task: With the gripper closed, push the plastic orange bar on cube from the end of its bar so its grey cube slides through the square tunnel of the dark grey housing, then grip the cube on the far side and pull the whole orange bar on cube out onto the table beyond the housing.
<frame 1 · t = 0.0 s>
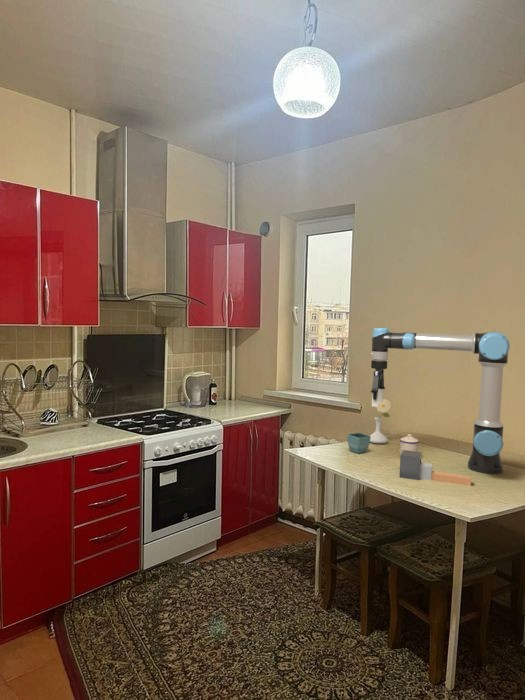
hand: (377, 404, 242), 28 cm above the table, tool pointing down, fingers open, 13 cm apart
orange bar on cube: (424, 477, 221), on the table
flower in vase: (378, 443, 281), on the table
housing: (410, 475, 223), on the table
teacup with lid: (407, 457, 255), on the table
flower pot: (358, 452, 260), on the table
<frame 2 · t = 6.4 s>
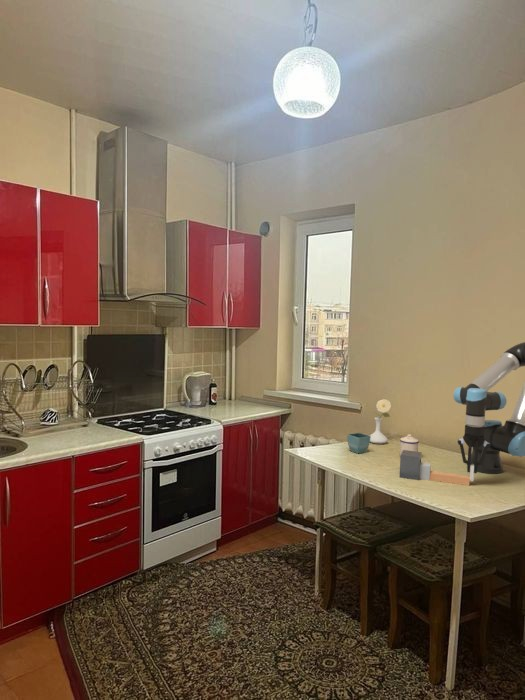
hand: (471, 480, 213), 2 cm above the table, tool pointing down, fingers closed
orange bar on cube: (422, 477, 221), on the table, touching gripper
everything else where it was.
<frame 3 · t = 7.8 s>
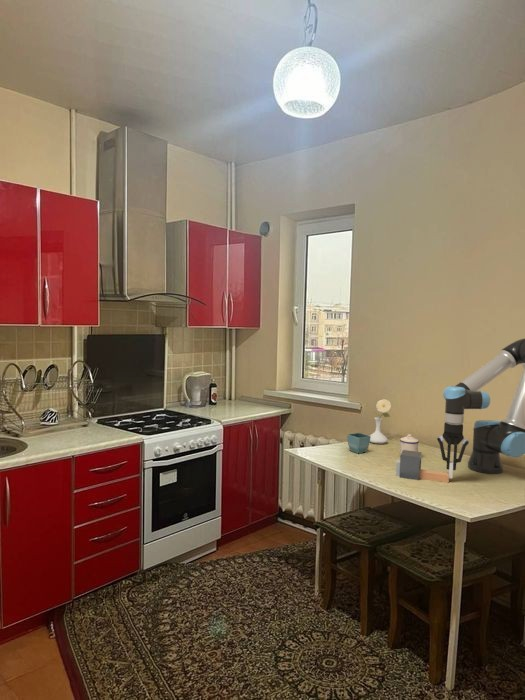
hand: (450, 477, 217), 2 cm above the table, tool pointing down, fingers closed
orange bar on cube: (403, 474, 224), on the table, touching gripper
everything else where it was.
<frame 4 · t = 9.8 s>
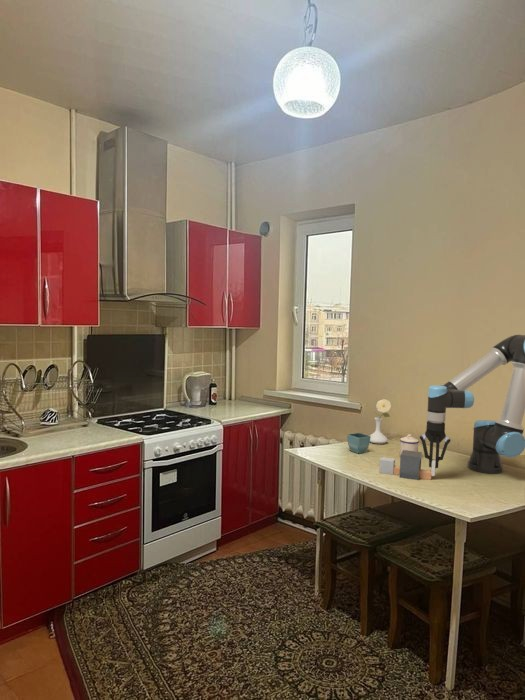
hand: (433, 474, 219), 2 cm above the table, tool pointing down, fingers closed
orange bar on cube: (386, 472, 227), on the table, touching gripper
everything else where it was.
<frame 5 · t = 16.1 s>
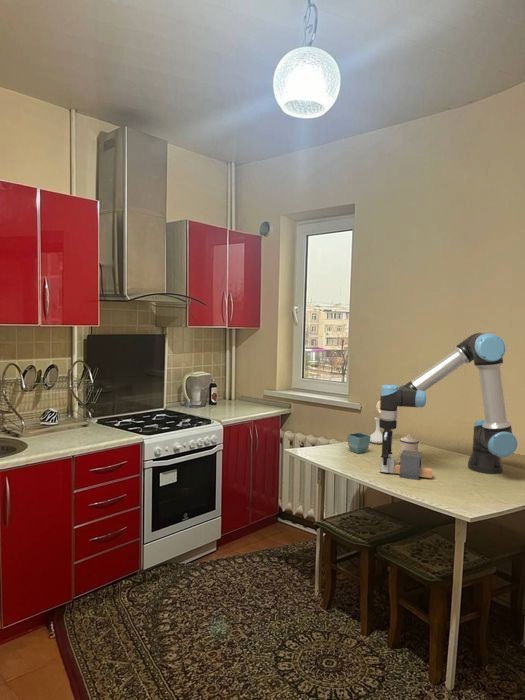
hand: (385, 470, 227), 1 cm above the table, tool pointing down, fingers closed on orange bar on cube, 5 cm apart
orange bar on cube: (387, 470, 227), point 1 cm above the table, touching gripper
everything else where it was.
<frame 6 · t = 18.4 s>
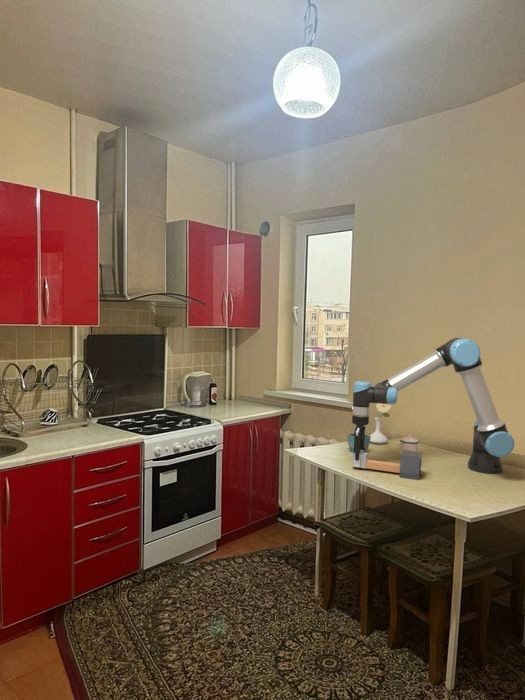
hand: (358, 465, 232), 1 cm above the table, tool pointing down, fingers closed on orange bar on cube, 5 cm apart
orange bar on cube: (359, 466, 232), point 1 cm above the table, touching gripper
everything else where it was.
when the fingers open (0 cm above the table, at t = 20.5 s): orange bar on cube stays where it is, on the table.
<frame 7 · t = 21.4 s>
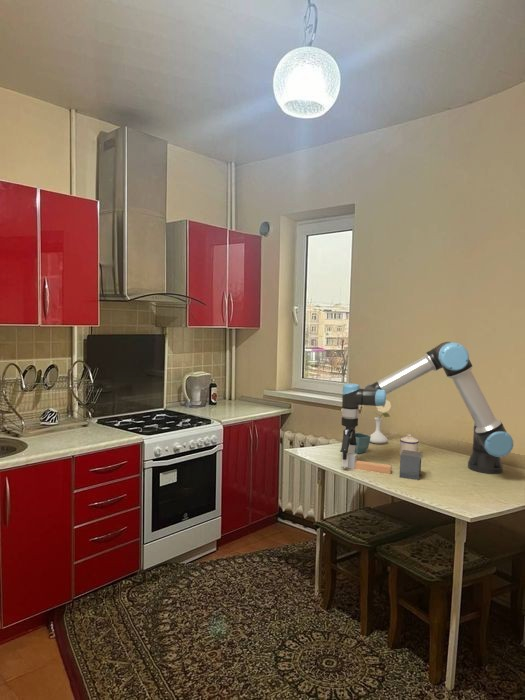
hand: (348, 462, 234), 2 cm above the table, tool pointing down, fingers open, 13 cm apart
orange bar on cube: (349, 467, 234), on the table
everything else where it was.
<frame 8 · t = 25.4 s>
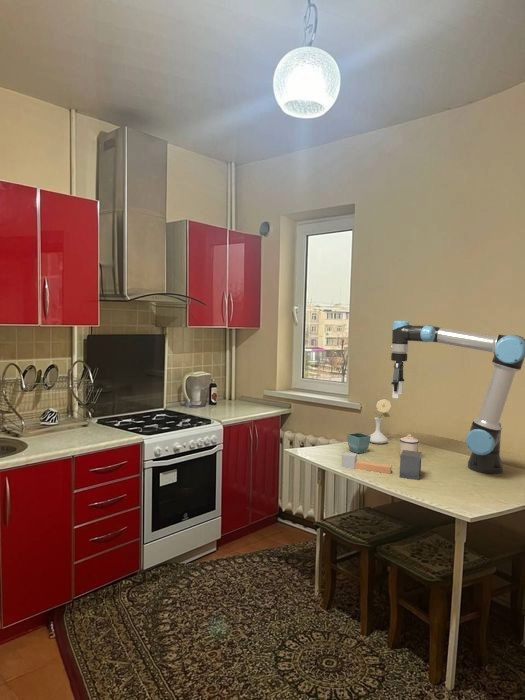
hand: (397, 396, 245), 32 cm above the table, tool pointing down, fingers open, 13 cm apart
nothing on the table moved.
at the end: orange bar on cube inside the target area (2.6 cm from its centre), on the table; the gripper is holding nothing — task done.
